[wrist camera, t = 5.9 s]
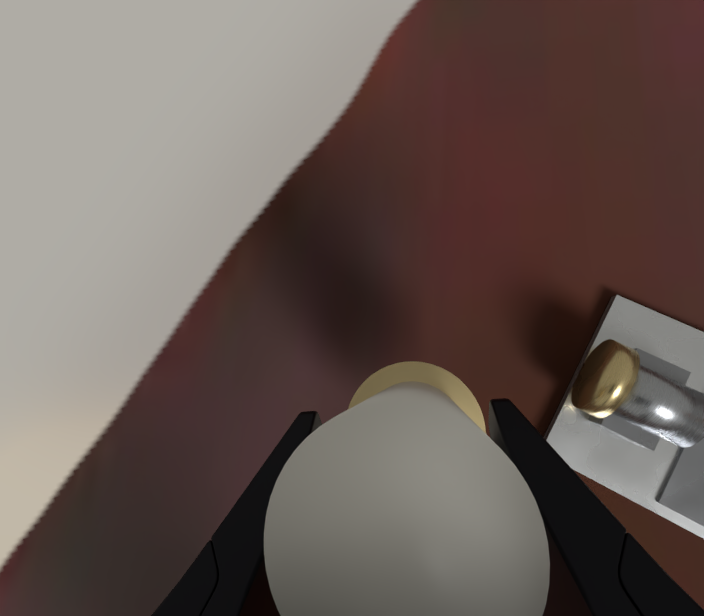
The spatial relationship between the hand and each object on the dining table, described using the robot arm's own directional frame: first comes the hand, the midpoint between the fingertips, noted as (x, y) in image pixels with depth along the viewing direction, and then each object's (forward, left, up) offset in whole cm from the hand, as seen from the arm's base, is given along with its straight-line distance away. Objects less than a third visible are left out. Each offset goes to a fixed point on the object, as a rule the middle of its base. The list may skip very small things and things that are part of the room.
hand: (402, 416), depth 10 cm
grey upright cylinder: (0, -1, -8) cm, 8 cm away
